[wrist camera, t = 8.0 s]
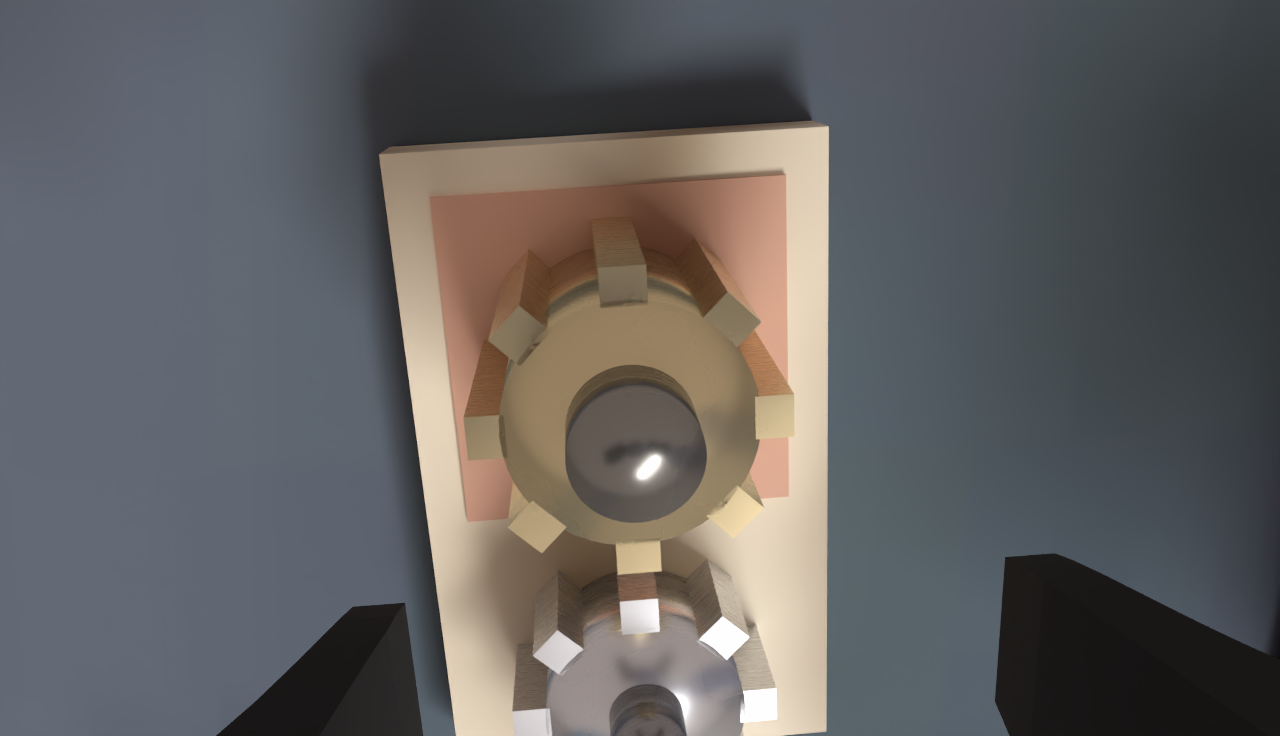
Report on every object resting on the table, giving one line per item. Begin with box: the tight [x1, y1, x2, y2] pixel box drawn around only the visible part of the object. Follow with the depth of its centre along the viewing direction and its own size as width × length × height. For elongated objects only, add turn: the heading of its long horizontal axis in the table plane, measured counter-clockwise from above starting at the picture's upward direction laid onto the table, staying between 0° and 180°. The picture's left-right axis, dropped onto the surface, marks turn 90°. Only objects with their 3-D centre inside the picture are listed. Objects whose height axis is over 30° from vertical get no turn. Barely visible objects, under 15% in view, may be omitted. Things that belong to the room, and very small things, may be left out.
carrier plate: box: [379, 121, 829, 736], centre depth 21 cm, size 8×13×1 cm, turn 3°
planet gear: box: [463, 216, 794, 575], centre depth 17 cm, size 5×5×5 cm
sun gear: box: [512, 545, 777, 736], centre depth 20 cm, size 5×5×3 cm
